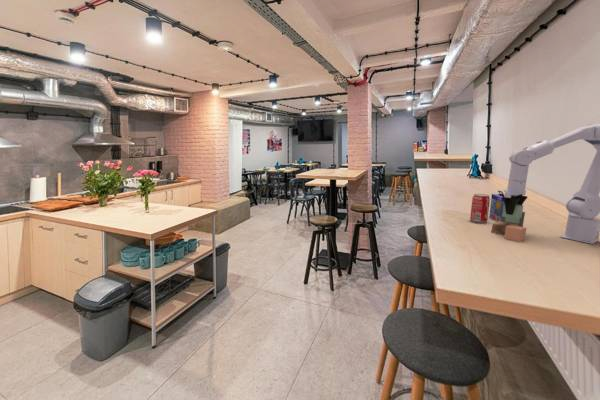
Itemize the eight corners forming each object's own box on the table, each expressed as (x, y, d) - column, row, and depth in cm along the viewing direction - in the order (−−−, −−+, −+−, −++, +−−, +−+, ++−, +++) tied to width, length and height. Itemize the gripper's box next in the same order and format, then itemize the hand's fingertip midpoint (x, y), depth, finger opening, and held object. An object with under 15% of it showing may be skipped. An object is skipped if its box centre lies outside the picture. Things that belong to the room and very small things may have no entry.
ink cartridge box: (487, 217, 148) (491, 189, 145) (499, 217, 147) (503, 189, 145) (498, 222, 138) (503, 192, 135) (511, 222, 138) (515, 192, 135)
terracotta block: (524, 240, 113) (526, 227, 112) (518, 242, 110) (520, 229, 109) (509, 236, 117) (511, 224, 116) (504, 238, 114) (505, 226, 113)
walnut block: (516, 233, 121) (517, 224, 121) (510, 237, 117) (512, 227, 116) (497, 229, 127) (498, 221, 126) (491, 232, 122) (492, 223, 122)
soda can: (487, 224, 135) (491, 196, 132) (469, 222, 138) (472, 195, 136) (487, 220, 141) (490, 194, 138) (469, 218, 144) (473, 193, 142)
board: (500, 224, 134) (503, 208, 133) (522, 227, 129) (525, 211, 128) (499, 226, 131) (502, 210, 129) (522, 230, 126) (524, 213, 124)
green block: (521, 217, 119) (523, 205, 118) (516, 218, 116) (518, 206, 115) (507, 214, 123) (509, 203, 122) (502, 216, 120) (503, 204, 119)
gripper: (513, 178, 124) (509, 209, 127) (498, 180, 116) (493, 213, 119) (533, 180, 118) (528, 212, 121) (518, 182, 110) (513, 217, 113)
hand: (512, 213), depth 119 cm, fingers closed on green block, 5 cm apart
